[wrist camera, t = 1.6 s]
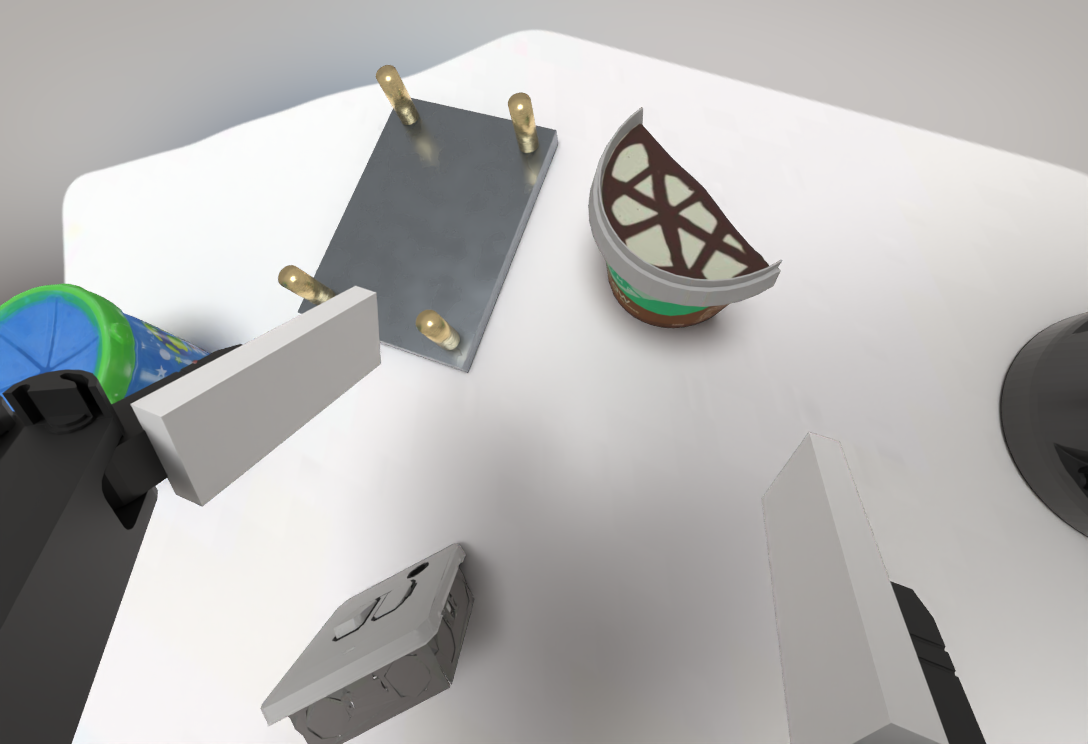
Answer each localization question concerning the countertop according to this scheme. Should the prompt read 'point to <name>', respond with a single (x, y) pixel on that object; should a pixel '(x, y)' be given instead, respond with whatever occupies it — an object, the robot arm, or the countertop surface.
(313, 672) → the electrical switch
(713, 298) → the food container
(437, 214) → the post plate
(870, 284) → the countertop surface
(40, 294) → the snack cup
